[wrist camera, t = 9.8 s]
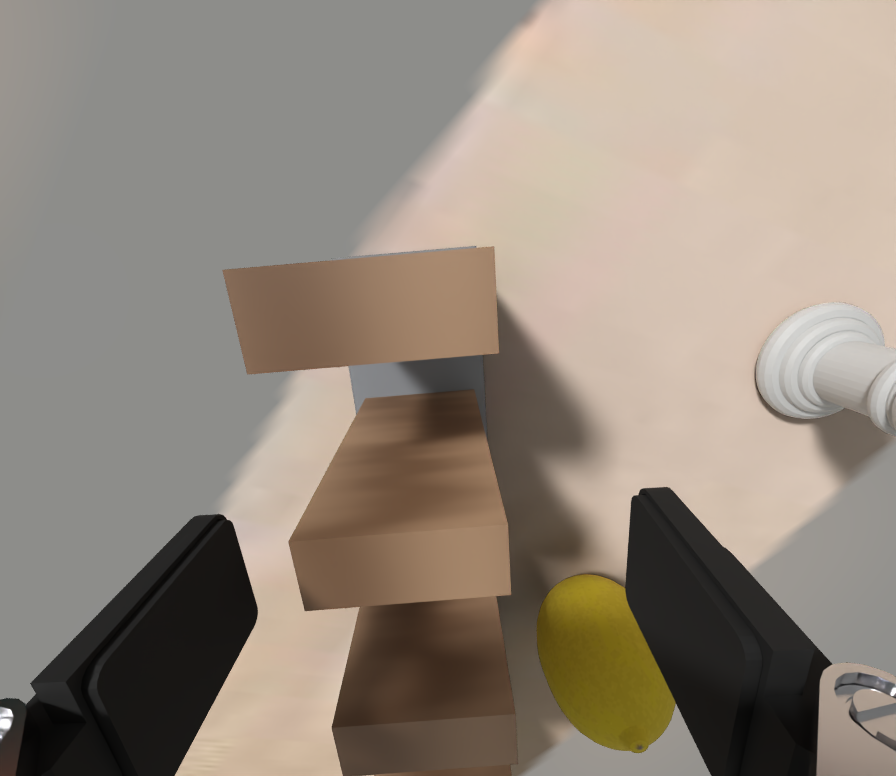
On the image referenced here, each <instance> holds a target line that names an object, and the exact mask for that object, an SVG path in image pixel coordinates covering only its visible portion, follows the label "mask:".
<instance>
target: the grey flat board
mask: <svg viewBox="0 0 896 776" xmlns="http://www.w3.org/2000/svg"><path fill="white" fill-rule="evenodd" d="M470 248H476V246H471V247H459V248H448V249H436V250H424V251H413V252H401V253H390V254H378V255H366V256H355V257H343V258H332V260H343V259H354V258H366V257H378V256H389V255H401V254H412V253H424V252H435V251H447V250H459V249H470ZM349 372H350V378H351V384H352V391H353V397H354V403H355V409H356V415H357V413H358V411H359V409H360V407H361V405H362V404H363V402H364V400H365V398H375V397H387V396H399V395H411V394H423V393H435V392H447V391H459V390H471V389H474V390H475V394H476V398H477V402H478V406H479V410H480V414H481V418H482V422H483V426H484V430H485V434H486V438H487V421H486V404H485V386H484V369H483V355H473V356H461V357H449V358H438V359H426V360H414V361H402V362H390V363H378V364H366V365H354V366H349ZM487 442H488V438H487ZM496 597H497V596H496Z"/></svg>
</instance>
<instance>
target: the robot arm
mask: <svg viewBox="0 0 896 776" xmlns="http://www.w3.org/2000/svg"><path fill="white" fill-rule="evenodd" d="M625 592H626V598H627V602H628V605H629V607H630V609H631V611H632V613H633V616H634V618H635V620H636V622H637V624H638V626H639V628H640V630H641V632H642V634H643V636H644V638H645V640H646V642H647V644H648V646H649V649H650V651H651V653H652V655H653V657H654V659H655V661H656V663H657V665H658V667H659V669H660V671H661V673H662V675H663V677H664V679H665V681H666V684H667V686H668V688H669V690H670V692H671V694H672V696H673V698H674V700H675V702H676V704H677V706H678V708H679V710H680V712H681V714H682V717H683V718H684V721H685V723H686V725H687V727H688V729H689V731H690V733H691V735H692V737H693V739H694V741H695V743H696V745H697V747H698V749H699V751H700V754H701V756H702V758H703V759H704V762H705V764H706V766H707V768H708V770H709V772H710V774H711V775H712V776H896V676H893V675H892V674H889V673H887V672H885V671H882V670H879V669H875V668H873V667H870V666H867V665H862V664H855V663H848V662H846V663H839V664H832V663H831V662H830V661H829V660H828V659H827V658H826V657H825V656H824V655H823V653H822V652H821V651H820V650H819V649H818V648H817V647H816V646H815V645H814V644H813V642H812V641H811V640H810V639H809V638H808V637H807V636H806V635H805V633H804V632H803V631H802V630H801V629H800V628H799V627H798V626H797V625H796V624H795V622H794V621H793V620H792V619H791V618H790V617H789V616H788V615H787V614H786V613H785V611H784V610H783V609H782V608H781V607H780V606H779V605H778V604H777V603H776V602H775V600H773V598H772V597H771V596H770V595H769V594H768V593H767V592H766V591H765V589H764V588H763V587H762V586H761V585H760V584H759V583H758V582H757V581H756V580H755V578H754V577H753V576H752V575H751V574H750V573H749V572H748V571H747V570H746V568H745V567H744V566H743V565H742V564H741V563H740V562H739V561H738V560H737V559H736V557H735V556H734V555H733V554H732V553H731V552H730V551H728V550H727V549H726V548H724V547H723V546H722V545H721V544H720V543H719V542H718V541H717V540H716V539H715V538H714V536H713V535H712V534H711V533H710V532H709V531H708V530H707V529H706V527H705V526H704V525H703V524H702V523H701V522H700V521H699V520H698V519H697V517H696V516H695V515H694V514H693V513H692V512H691V511H690V510H689V509H688V507H687V506H686V505H685V504H684V503H683V502H682V501H681V500H680V499H679V497H678V496H677V495H676V494H675V493H674V492H673V491H672V490H671V489H670V488H668V487H660V488H644V489H641V490H640V492H639V495H636V496H633V497H632V500H631V513H630V527H629V542H628V557H627V571H626V586H625ZM257 615H258V608H257V604H256V601H255V597H254V594H253V590H252V587H251V584H250V580H249V577H248V573H247V570H246V567H245V563H244V560H243V556H242V553H241V549H240V546H239V543H238V539H237V536H236V532H235V529H234V526H233V523H232V522H231V521H230V520H227V519H226V518H225V517H224V515H221V514H216V515H199V516H195V517H193V518H192V519H191V520H190V521H189V522H188V523H187V524H186V525H185V526H184V527H183V528H182V529H181V530H180V531H179V532H178V533H177V534H176V535H175V536H174V537H173V538H172V539H171V540H170V541H169V542H168V543H167V544H166V545H165V546H164V547H163V549H161V550H160V551H159V553H157V554H156V556H155V557H154V558H153V559H152V560H151V561H150V562H149V563H148V564H147V565H146V566H145V567H144V568H143V569H142V570H141V571H140V572H139V573H138V574H137V575H136V576H135V577H134V578H133V579H132V580H131V581H130V582H129V583H128V584H127V585H126V586H125V587H124V588H123V589H122V590H121V591H120V592H119V593H118V594H117V595H116V596H115V598H113V599H112V601H110V603H109V604H108V605H107V606H106V607H105V608H104V609H103V610H102V611H101V612H100V613H99V614H98V615H97V616H96V617H95V618H94V619H93V620H92V621H91V622H90V623H89V624H88V625H87V626H86V627H85V628H84V629H83V630H82V631H81V632H80V633H79V634H78V635H77V636H76V638H74V639H73V640H72V641H71V642H70V644H68V646H66V647H65V648H64V649H63V651H62V652H61V653H60V654H59V655H58V656H57V657H56V658H55V659H54V660H53V661H52V662H51V663H50V664H49V665H48V666H47V667H46V668H45V669H44V670H43V671H42V672H41V673H40V674H39V675H38V676H37V677H36V678H35V679H34V680H33V681H32V683H30V684H31V685H32V687H33V689H34V691H35V692H36V695H35V696H34V697H33V698H32V699H31V700H30V701H29V702H28V703H27V704H25V703H24V702H22V701H21V700H20V699H16V698H4V699H0V776H175V774H176V772H177V770H178V768H179V766H180V764H181V763H182V761H183V759H184V757H185V755H186V753H187V751H188V749H189V748H190V746H191V744H192V742H193V740H194V738H195V736H196V734H197V733H198V731H199V729H200V727H201V725H202V723H203V721H204V719H205V718H206V716H207V714H208V712H209V710H210V708H211V706H212V704H213V703H214V701H215V699H216V697H217V695H218V693H219V691H220V689H221V688H222V686H223V684H224V682H225V680H226V678H227V676H228V674H229V673H230V671H231V669H232V667H233V665H234V663H235V661H236V659H237V658H238V656H239V654H240V652H241V650H242V648H243V646H244V644H245V643H246V641H247V639H248V637H249V635H250V633H251V631H252V630H253V628H254V626H255V623H256V620H257Z"/></svg>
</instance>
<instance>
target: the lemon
mask: <svg viewBox="0 0 896 776" xmlns="http://www.w3.org/2000/svg"><path fill="white" fill-rule="evenodd" d="M537 647H538V654H539V659H540V662H541V666H542V669H543V672H544V674H545V677H546V679H547V682H548V685H549V687H550V689H551V692H552V694H553V696H554V698H555V700H556V702H557V703H558V705H559V707H560V708H561V710H562V711H563V713H564V714H565V715H566V717H567V718H568V719H569V720H570V722H571V723H572V724H573V725H574V726H575V727H576V728H577V729H578V730H579V731H580V732H581V733H582V734H584V735H585V736H587V737H588V738H590V739H591V740H593V741H594V742H596V743H598V744H600V745H602V746H605V747H608V748H611V749H615V750H622V751H632V752H634V753H642V752H644V751H646V749H647V748H648V746H649V745H650V744H652V743H653V742H654V741H656V740H657V739H658V738H659V737H660V736H661V735H662V734H663V732H664V731H665V729H666V728H667V726H668V725H669V722H670V721H671V718H672V715H673V711H674V708H675V704H676V702H675V700H674V698H673V696H672V694H671V692H670V690H669V688H668V686H667V684H666V681H665V679H664V677H663V675H662V673H661V671H660V669H659V667H658V665H657V663H656V661H655V659H654V657H653V655H652V653H651V651H650V649H649V646H648V644H647V642H646V640H645V638H644V636H643V634H642V632H641V630H640V628H639V626H638V624H637V622H636V620H635V618H634V616H633V613H632V611H631V609H630V607H629V605H628V602H627V598H626V592H625V588H624V587H623V586H621V585H619V584H617V583H616V582H614V581H612V580H610V579H607V578H604V577H601V576H597V575H589V574H583V575H576V576H572V577H569V578H566V579H565V580H563V581H561V582H560V583H558V584H556V585H555V586H554V587H553V588H552V589H551V590H550V592H549V593H548V594H547V596H546V598H545V599H544V601H543V603H542V605H541V608H540V611H539V615H538V619H537Z"/></svg>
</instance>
